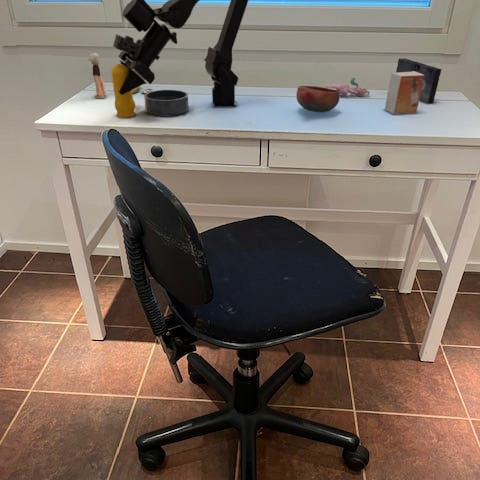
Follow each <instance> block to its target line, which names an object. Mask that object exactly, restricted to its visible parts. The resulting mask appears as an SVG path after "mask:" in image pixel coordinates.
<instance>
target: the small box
mask: <svg viewBox="0 0 480 480" xmlns="http://www.w3.org/2000/svg"><path fill="white" fill-rule="evenodd" d="M424 77H425V75H423V74H421V73H418V72H415V71H412V72H398V73H396V71H395V72H393V71H392V72H391V73H390V79H389V84H388V89H387V93H386V99H385V104H384V111H387V112H389V113H390V114H392V115H399V114H400V115H401V114H416V113H417V112H418V108H419V103H420V101H419V99H420V94H421V90H422V85H423V81H424Z"/></svg>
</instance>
